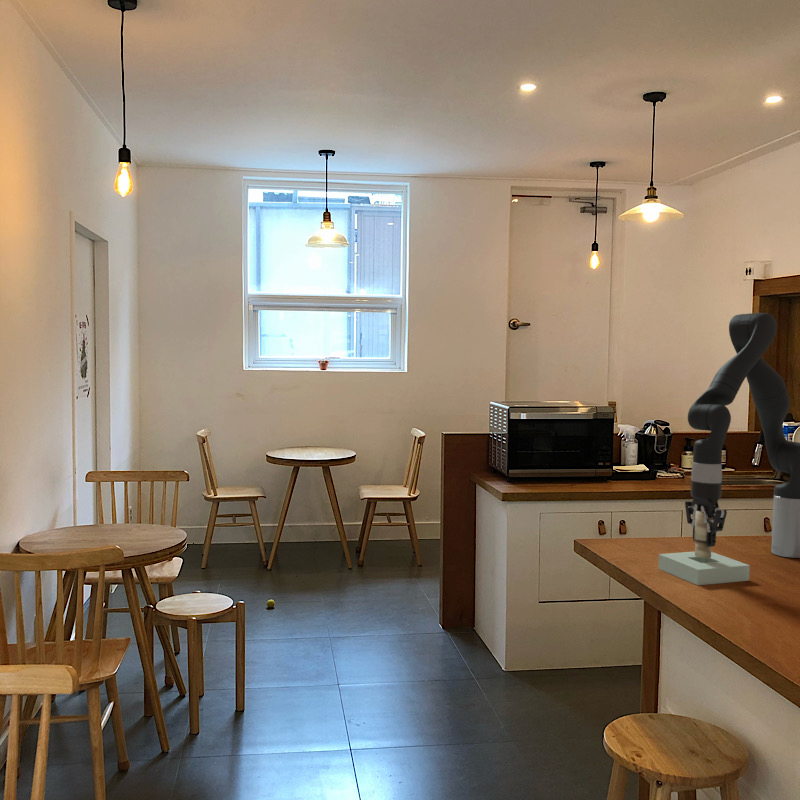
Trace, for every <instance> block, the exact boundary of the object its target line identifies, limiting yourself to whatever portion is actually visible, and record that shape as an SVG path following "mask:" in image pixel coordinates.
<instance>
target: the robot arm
mask: <svg viewBox="0 0 800 800" xmlns="http://www.w3.org/2000/svg"><path fill="white" fill-rule="evenodd" d="M728 333H729V334H728V335H729V337H730V341H731V344H732V346H733V348H734V351H735V353H736V354H735V355H734V356H733V357H731V358H730V359H729V360H728V361H726V362H725V363H724V364H723V365H722V366H721V367H720V368H719V369H718V371H717V372H716V373H715V375H714V377H713V379H712V380H711V383H710V385H709V387H708V388H707V389H706V390H704V392H703V393H701V395H700V396H699V397H698V398H697V399H696V400H695V401H694V402H693V404H692V405H691V407H690V408H689V410H688V412H687V422H688V424H689V426H690V427H691V428H692V429H694V430H698V431H705V432H706V431H707V432H710V434H709V435H708V437H707V438H704V439H703V438H702V439H698V440H696V441H695V442H694V444H693V452H692V453H693V456H692V457H693V459H692V460H693V461H692V467H691V475H690V476H691V477H690V478H691V480H690V496H691V497H692V500H688V501H684V507H685V514H686V523H687V524H690V526H691V527H692V541H693V542H694V543H696V541H694V538H695V515H696V511H701V512H703V513H704V523H705V524H706V527H707V531H708V532H707V539H706V545H707V546H709V547H710V546H712V547H715V545H716V542H717V533H718V532H722V531H723V529H724V526H725V522H726V517H727V513H728V511H727V510H726V509H722V508H720V505H719V500H720V499H721V498H722V487H723V484H722V483H723V482H722V481H723V469H722V468H723V465H722V460H723V447H724V445H725V444H724V443H725V440H726V436H727V433H728V430H729V428H730V426H731V421H732V416H731V415H732V414H731V412H730V410H729V408H728V407H727V406H728V405H731V404H732V403H733V402H734V400H735V399H736V396H737V395H738V392H739V391H740V389H741V386H742V385H743V383H744V381H745V379H746V381H747V384H748V386H749V389H750V393H751V397H752V401H753V404H754V406H755V409H756V412H757V414H758V417H759V422H760V426H761V428H762V432H763V436H764V441H765V442H764V443H765V447H766V452H767V458H768V461H769V463H770V465H771V467H772V468H773V469H774V470H775V471H778V472H781V473H787V474H790V479H789V480H788V481H787V482H783V483H779V484H776V485H775V486H774V489H773V506H772V507H773V509H772V526H771V528H772V529H771V554H773V555H775V556H780V557H785V558H792V559H793V558H795V559H796V558H798V559H799V558H800V442H797V441H790V440H789V441H788V440H787V439H786V437H785V433H784V428H783V424H784V422H785V419H786V417H787V415H788V412H789V409H790V406H791V399H790V396H789V392H788V389H787V386H786V383H785V381H784V379H783V378H782V376H781V375H780V374H779V373H778V372H777V371H776V370H775V369H774V368H773V367H772V366H770V364H769V363H768V362H766V361H765V360H764V358H763V357H762V356H763V355H764V353H766V351H767V350H768V348H769V347H770V346H771V344H772V343H773V342H774V339H775V337H776V335H777V321H776V319H775V317H774V316H773V315H772V314H770V313H769V312H753V313H751V312H750V313H741V314H736V315H734V316H732V317H731V318H730V321H729V325H728ZM713 517H714V519H713V520H709V519H708V518H713ZM711 523H713V525H712V527H711Z"/></svg>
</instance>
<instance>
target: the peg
mask: <svg viewBox="0 0 800 800" xmlns="http://www.w3.org/2000/svg"><path fill="white" fill-rule="evenodd" d="M708 519H709V520H713V519H714V517H713V518H708ZM712 525H713V523H711V527H712ZM707 532H708V531H707V527H706V524H705V523H704V513H703V512H701V511H696V515H695V538H694V541H693V542H695V541H696V542H695V548H694V549H695V550H694V551H695V556H697V557H701V558H711V552H712V547H713V546H710V547H709V546H707V545H706V539H707Z"/></svg>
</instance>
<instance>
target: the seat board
mask: <svg viewBox="0 0 800 800" xmlns="http://www.w3.org/2000/svg"><path fill="white" fill-rule="evenodd" d="M750 567H751V565H749V564H748V563H744V562H742V561H739V560H736V559H733V558H730V557H728V556H724V555H722V554H719V553H716V552H714V551H711V558H701V557H697V556H695V550H693V551H683V552H672V553H671V552H668V553H659V554H658V567H657V568H658V569H659V570H661V571H663V572H665V573H667V574H670V575H672V576H674V577H676V578H678V579H679V578H680V579H682V580H683V581H686V582H689V583H691V584H694V585H696V586H703V585H705V586H706V585H716V584H726V583H727V584H728V583H738V582H746V581H747V582H748V581H750V572H751V571H750V570H751V568H750Z"/></svg>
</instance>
